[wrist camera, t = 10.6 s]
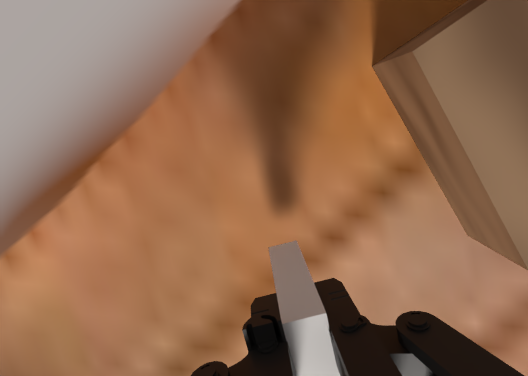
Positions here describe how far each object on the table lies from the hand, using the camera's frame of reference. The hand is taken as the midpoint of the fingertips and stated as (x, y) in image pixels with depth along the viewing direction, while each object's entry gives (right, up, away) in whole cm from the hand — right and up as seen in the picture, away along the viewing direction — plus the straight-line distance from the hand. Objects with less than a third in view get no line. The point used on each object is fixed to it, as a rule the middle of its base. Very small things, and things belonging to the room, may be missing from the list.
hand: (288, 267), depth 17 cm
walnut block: (+11, +8, +2) cm, 14 cm away
